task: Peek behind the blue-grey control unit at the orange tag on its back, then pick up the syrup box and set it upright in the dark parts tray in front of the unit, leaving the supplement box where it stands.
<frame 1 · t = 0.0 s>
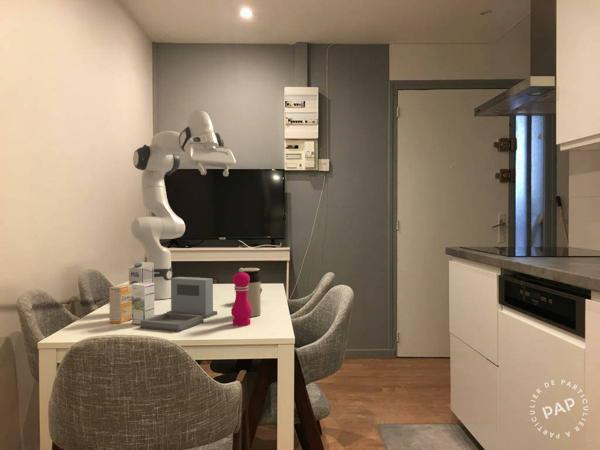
hand: (215, 174, 166), 54 cm above the table, tool tilted 30°, fingers open, 8 cm apart
supplement box: (121, 321, 161), on the table
artichoke: (250, 303, 195), on the table
control unit: (192, 314, 171), on the table
parts tray: (172, 325, 153), on the table
milk carton: (141, 312, 177), on the table
syrup box: (143, 323, 157), on the table
travel mug: (250, 315, 169), on the table
pink bowling pin: (241, 324, 155), on the table
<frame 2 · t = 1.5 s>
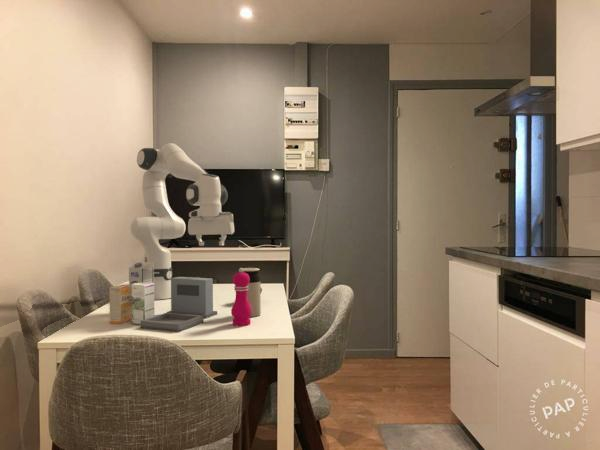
hand: (211, 245, 182), 26 cm above the table, tool pointing down, fingers open, 8 cm apart
nothing on the table moved.
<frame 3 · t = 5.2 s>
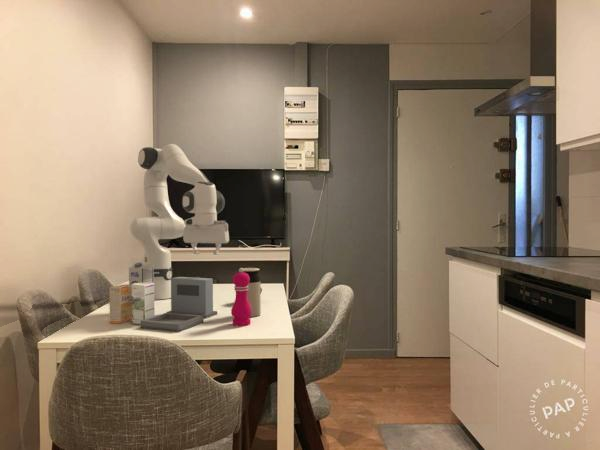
hand: (206, 254, 180), 23 cm above the table, tool pointing down, fingers open, 8 cm apart
nothing on the table moved.
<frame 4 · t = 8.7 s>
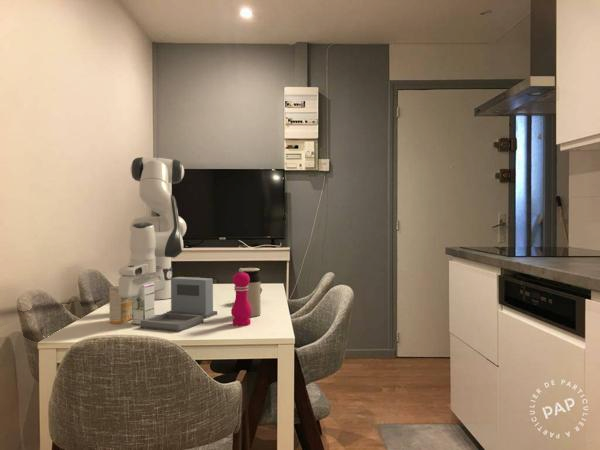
hand: (143, 306, 157), 6 cm above the table, tool pointing down, fingers closed on syrup box, 6 cm apart
syrup box: (143, 323, 157), on the table, touching gripper
everything else where it was.
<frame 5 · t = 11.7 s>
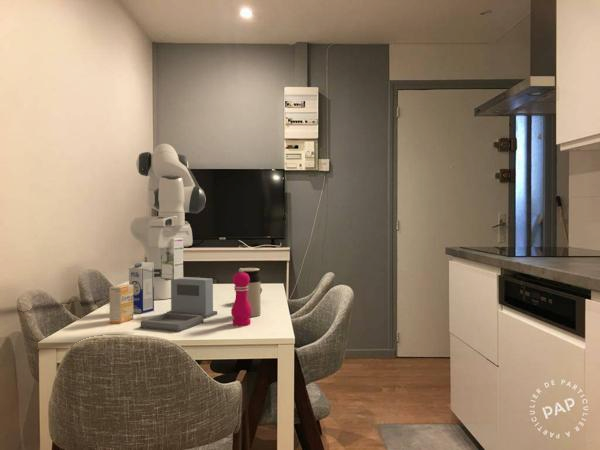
hand: (172, 260, 153), 23 cm above the table, tool pointing down, fingers closed on syrup box, 6 cm apart
syrup box: (172, 279, 153), point 16 cm above the table, touching gripper
everything else where it was.
when the fingers open (8 cm above the table, at t = 14.9 s): syrup box moves 1 cm, resting on parts tray.
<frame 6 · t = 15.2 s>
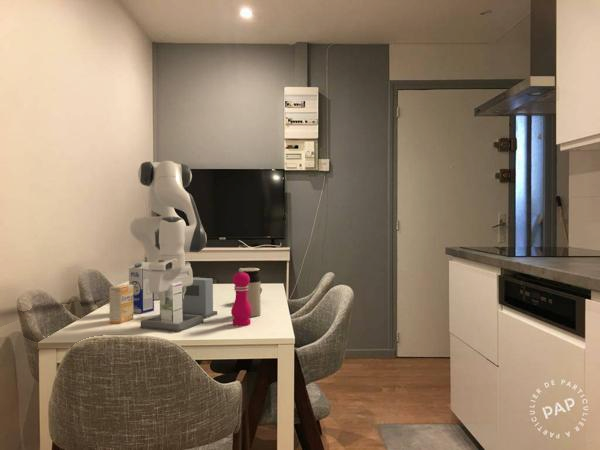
hand: (172, 302, 153), 8 cm above the table, tool pointing down, fingers open, 8 cm apart
syrup box: (171, 323, 153), point 1 cm above the table, touching parts tray
everything else where it was.
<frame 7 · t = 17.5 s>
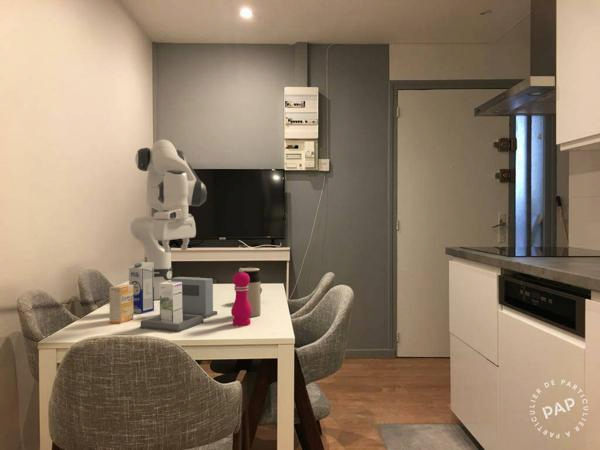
hand: (176, 251, 161), 26 cm above the table, tool pointing down, fingers open, 8 cm apart
nothing on the table moved.
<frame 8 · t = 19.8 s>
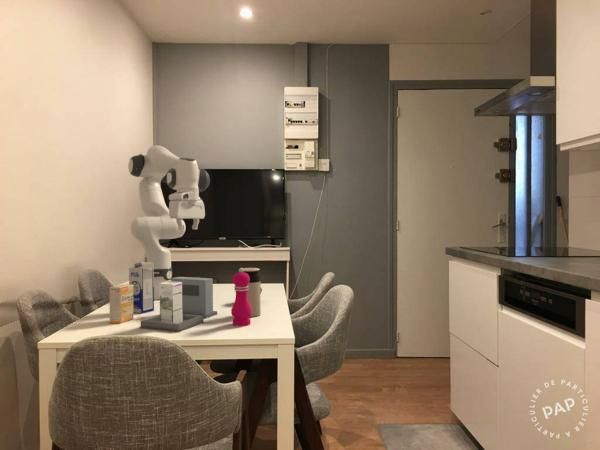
hand: (188, 229, 182), 33 cm above the table, tool pointing down, fingers open, 8 cm apart
nothing on the table moved.
at the end: syrup box inside the target area on the parts tray (0.6 cm from its centre), point 0.6 cm above the parts tray's base; syrup box tilted 0°; supplement box moved 0.2 cm from its start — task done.
